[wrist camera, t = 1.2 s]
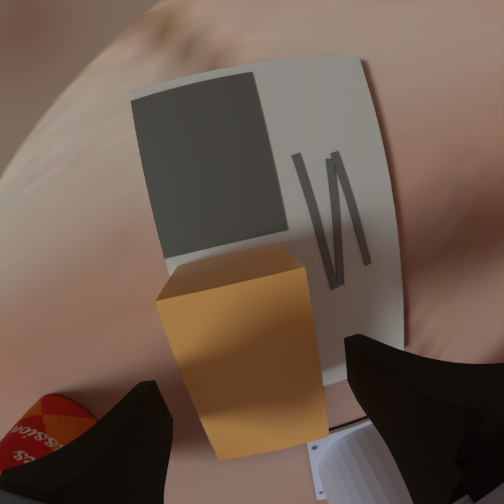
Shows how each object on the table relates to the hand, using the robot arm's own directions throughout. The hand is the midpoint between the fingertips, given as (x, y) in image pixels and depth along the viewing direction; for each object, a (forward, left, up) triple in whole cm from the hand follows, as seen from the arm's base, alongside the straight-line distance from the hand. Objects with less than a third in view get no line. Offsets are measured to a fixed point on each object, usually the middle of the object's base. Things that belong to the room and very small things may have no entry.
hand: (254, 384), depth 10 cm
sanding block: (0, 0, -5) cm, 5 cm away
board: (+4, -3, -6) cm, 8 cm away
